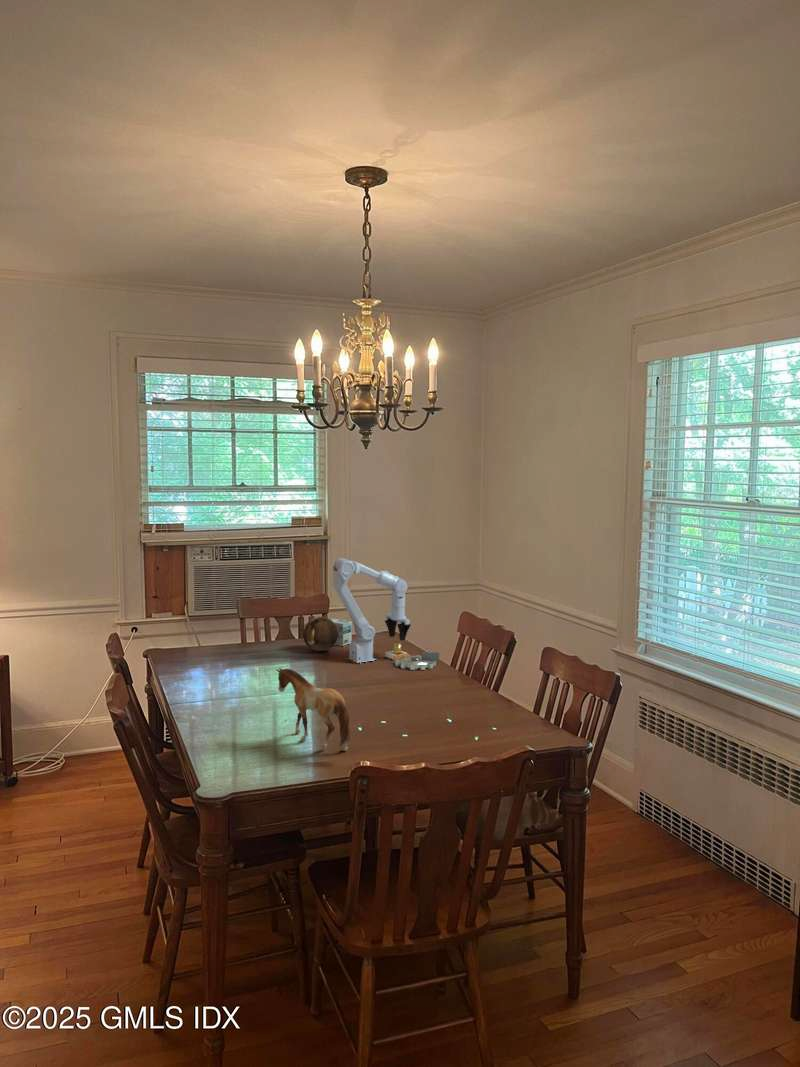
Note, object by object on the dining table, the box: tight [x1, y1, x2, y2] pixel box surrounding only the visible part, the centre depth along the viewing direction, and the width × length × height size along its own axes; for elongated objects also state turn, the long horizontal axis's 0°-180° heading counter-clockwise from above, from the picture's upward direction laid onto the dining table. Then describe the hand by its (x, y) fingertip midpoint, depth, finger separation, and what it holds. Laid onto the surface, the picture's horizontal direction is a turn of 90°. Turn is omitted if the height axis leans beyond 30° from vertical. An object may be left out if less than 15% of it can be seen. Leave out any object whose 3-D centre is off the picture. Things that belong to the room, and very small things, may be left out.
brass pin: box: [393, 642, 402, 655], centre depth 321 cm, size 3×3×6 cm
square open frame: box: [385, 650, 410, 661], centre depth 321 cm, size 7×7×2 cm
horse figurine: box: [275, 667, 351, 752], centre depth 220 cm, size 31×8×21 cm, turn 47°
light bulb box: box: [330, 618, 353, 647], centre depth 343 cm, size 11×7×11 cm, turn 58°
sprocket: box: [394, 651, 440, 671], centre depth 310 cm, size 16×18×5 cm
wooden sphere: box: [302, 616, 338, 652], centre depth 329 cm, size 15×15×15 cm
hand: (397, 638), depth 320 cm, fingers open, 7 cm apart
